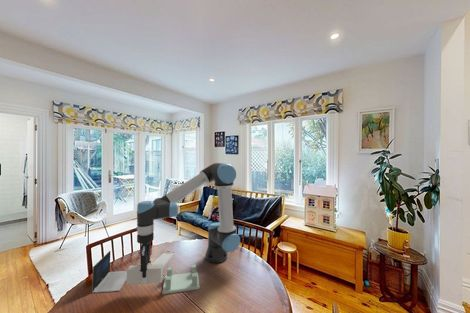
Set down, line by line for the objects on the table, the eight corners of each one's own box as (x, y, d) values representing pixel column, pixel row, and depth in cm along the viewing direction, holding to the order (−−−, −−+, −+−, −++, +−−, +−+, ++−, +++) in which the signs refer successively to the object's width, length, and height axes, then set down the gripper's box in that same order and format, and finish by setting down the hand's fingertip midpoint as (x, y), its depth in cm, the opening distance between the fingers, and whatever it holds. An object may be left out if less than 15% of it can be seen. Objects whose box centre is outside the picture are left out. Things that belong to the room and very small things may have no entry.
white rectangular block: (162, 277, 102) (163, 264, 102) (160, 282, 98) (160, 268, 98) (130, 279, 100) (130, 265, 100) (126, 284, 96) (126, 270, 96)
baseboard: (134, 280, 110) (151, 282, 109) (134, 275, 110) (151, 276, 109) (160, 254, 140) (174, 255, 139) (160, 250, 140) (174, 251, 139)
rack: (197, 273, 116) (197, 263, 116) (199, 288, 103) (199, 276, 103) (164, 277, 111) (165, 266, 112) (162, 294, 98) (162, 281, 98)
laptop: (118, 292, 100) (119, 265, 100) (91, 293, 98) (92, 267, 98) (132, 271, 117) (132, 249, 118) (109, 273, 115) (109, 250, 116)
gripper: (140, 227, 107) (140, 271, 107) (132, 240, 90) (133, 292, 90) (155, 226, 109) (155, 269, 108) (150, 239, 92) (150, 290, 92)
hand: (145, 279), depth 99 cm, fingers closed on white rectangular block, 4 cm apart
